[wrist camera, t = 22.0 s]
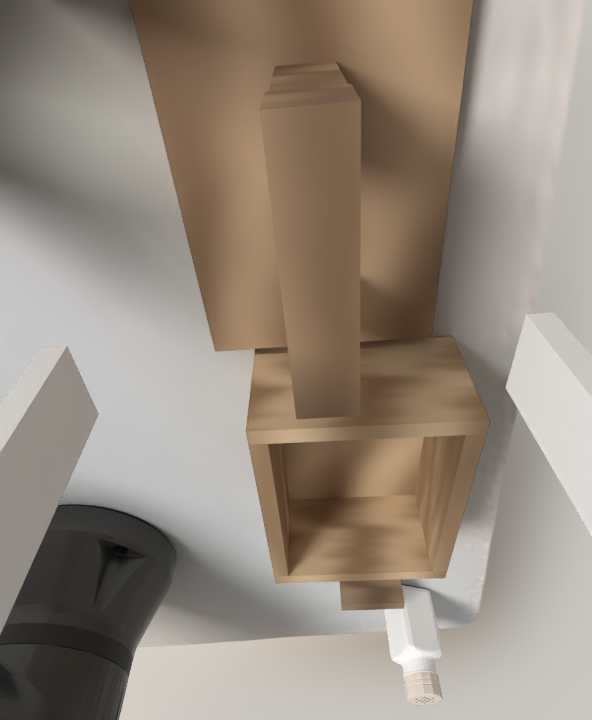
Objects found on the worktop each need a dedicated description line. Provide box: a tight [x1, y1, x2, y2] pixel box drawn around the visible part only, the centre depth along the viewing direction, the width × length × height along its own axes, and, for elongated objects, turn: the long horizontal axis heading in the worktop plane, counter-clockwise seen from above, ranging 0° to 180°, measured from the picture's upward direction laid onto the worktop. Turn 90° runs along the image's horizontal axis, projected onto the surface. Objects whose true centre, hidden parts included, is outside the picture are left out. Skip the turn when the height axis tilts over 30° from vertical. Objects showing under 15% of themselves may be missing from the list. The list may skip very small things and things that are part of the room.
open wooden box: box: [246, 336, 490, 583], centre depth 30 cm, size 12×16×7 cm
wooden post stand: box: [129, 0, 473, 419], centre depth 19 cm, size 13×17×10 cm
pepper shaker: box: [384, 585, 443, 705], centre depth 46 cm, size 4×4×10 cm
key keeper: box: [340, 579, 405, 610], centre depth 43 cm, size 6×9×3 cm
